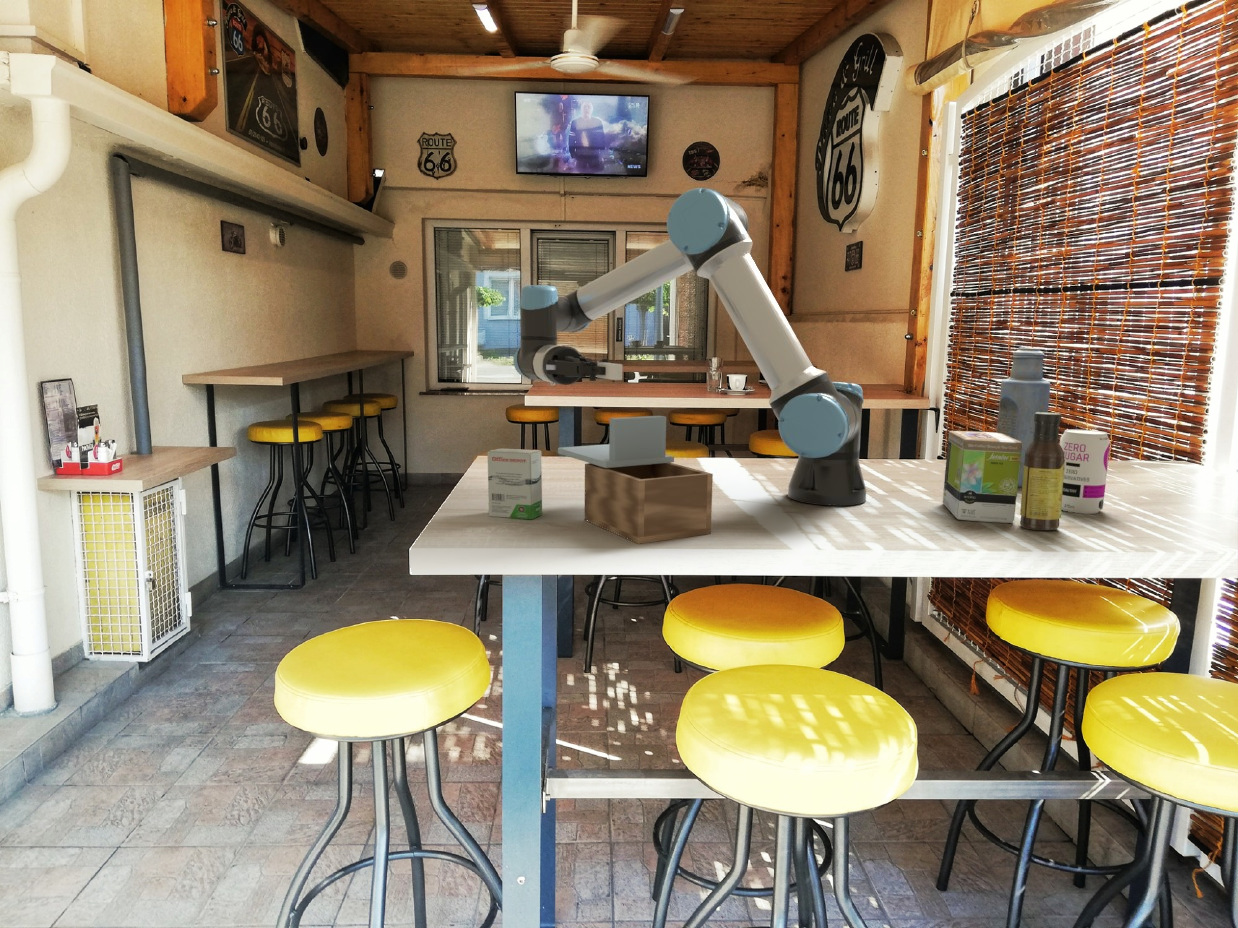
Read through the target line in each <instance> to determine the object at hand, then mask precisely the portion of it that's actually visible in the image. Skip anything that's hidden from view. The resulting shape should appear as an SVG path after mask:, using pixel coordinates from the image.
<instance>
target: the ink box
mask: <svg viewBox="0 0 1238 928" xmlns="http://www.w3.org/2000/svg"><path fill="white" fill-rule="evenodd" d="M542 469H543V468H542V451H541V450H540V449H539V450H537V449H524V448H522V449H518V448H517V449H516V448H502V447H501V448H496V449H490V450H489V451H487V477H488V478H487V482H488V483H487V485H488V486H487V487H488V489H487V490H488V494H487V495H488V516H489V517H495V518H496V517H497V518H508V519H509V518H510V519H521V520H535V518H537V517H539V516H542V514H543V486H542V485H543V481H542V480H543V479H542V478H543V477H542V476H543V475H542V473H543V471H542Z"/></svg>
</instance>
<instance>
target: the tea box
mask: <svg viewBox="0 0 1238 928" xmlns="http://www.w3.org/2000/svg"><path fill="white" fill-rule="evenodd" d="M946 447H947V450H946V459H945V460H946V461H945V471H944V483H943V491H942V492H943V493H942V504H943V505H944V506H945V507H946V508H947V509H948V511H950V513H951V514H952V515H953V516H954V517H955V518H956V519H957V520H958V521H959V520H960V521H961V520H962V521H969V522H970V521H971V522H972V521H973V522H984V523H985V522H986V523H988V522H989V523H1002V524H1003V523H1004V524H1005V523H1006V524H1007V523H1009V524H1013V523H1014V521H1015V516H1016V515H1015V513H1016V506H1017V495H1018V488H1019V486H1018V478H1019V469H1020V460H1021V451H1022V442H1020V441H1018V440H1016V439H1013V438H1011V437H1009V436H1006V435H1004V434H1002V433H997V432H990V431H989V432H988V431H969V430H968V431H965V430H962V431H961V430H949V431H948V439H947V446H946Z"/></svg>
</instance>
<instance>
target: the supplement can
mask: <svg viewBox="0 0 1238 928" xmlns="http://www.w3.org/2000/svg"><path fill="white" fill-rule="evenodd" d="M1059 439H1060V440H1059V444H1060V446H1061V448H1062V449H1063V451H1064V456H1065V458H1064V459H1065V466H1064V480H1063V492H1062V506H1061V511H1062V510H1063V512H1066V511H1068V512H1067V513H1072V512H1075V513H1074V514H1084V515H1088V514H1089V515H1093V514H1098V513H1100V511H1102V510H1103V509H1104V502H1105V495H1106V494H1105V492H1106V485H1107V475H1108V465H1109V464H1108V463H1109V455H1110V448H1111V440H1110V438H1109V437H1108V432H1106V431H1101V430H1093V429H1090V430H1089V429H1065V430H1064V432H1063V434H1062V435H1061V436H1060V437H1059Z"/></svg>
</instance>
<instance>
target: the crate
mask: <svg viewBox="0 0 1238 928" xmlns="http://www.w3.org/2000/svg"><path fill="white" fill-rule="evenodd" d="M713 477H714V474H713V473H710V472H708V471H707V472H706V471H703V470H700V469H695V468H692V467H688V466H685V465H682V464H681V465H680V464H677V463H674V462H671V463H659V464H647V465H636V466H624V467H612V468H604V467H601V466H597V465H594V464H591V463H588V462H586V463H584V521H585V520H588V521H589V522H588V521H587V522H588V523H590V522H592V523H594V524H596V525H595V526H597V525H599V526H600V527H599V526H598V527H599V528H601V527H603V528H605V529H604V530H606V529H608V530H610V531H612V532H611V533H613V532H615V533H617V534H619V535H621V536H620V537H622V538H624V537H625V538H624V539H626V538H628V539H629V540H628V539H627V540H628V541H631V540H632V541H631V542H632V543H633V542H634V543H636V544H637V543H638V544H637V545H639V544H640V543H641V544H647V543H652V542H661V541H669V540H675V539H682V538H689V537H696V536H705V535H711V534H712V514H713V513H712V509H713V506H712V505H713V479H714V478H713ZM592 523H591V524H592ZM594 524H593V525H594ZM603 528H602V529H603ZM608 530H607V531H608ZM610 531H609V532H610ZM615 533H614V534H615ZM617 534H616V535H617ZM619 535H618V536H619Z"/></svg>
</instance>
